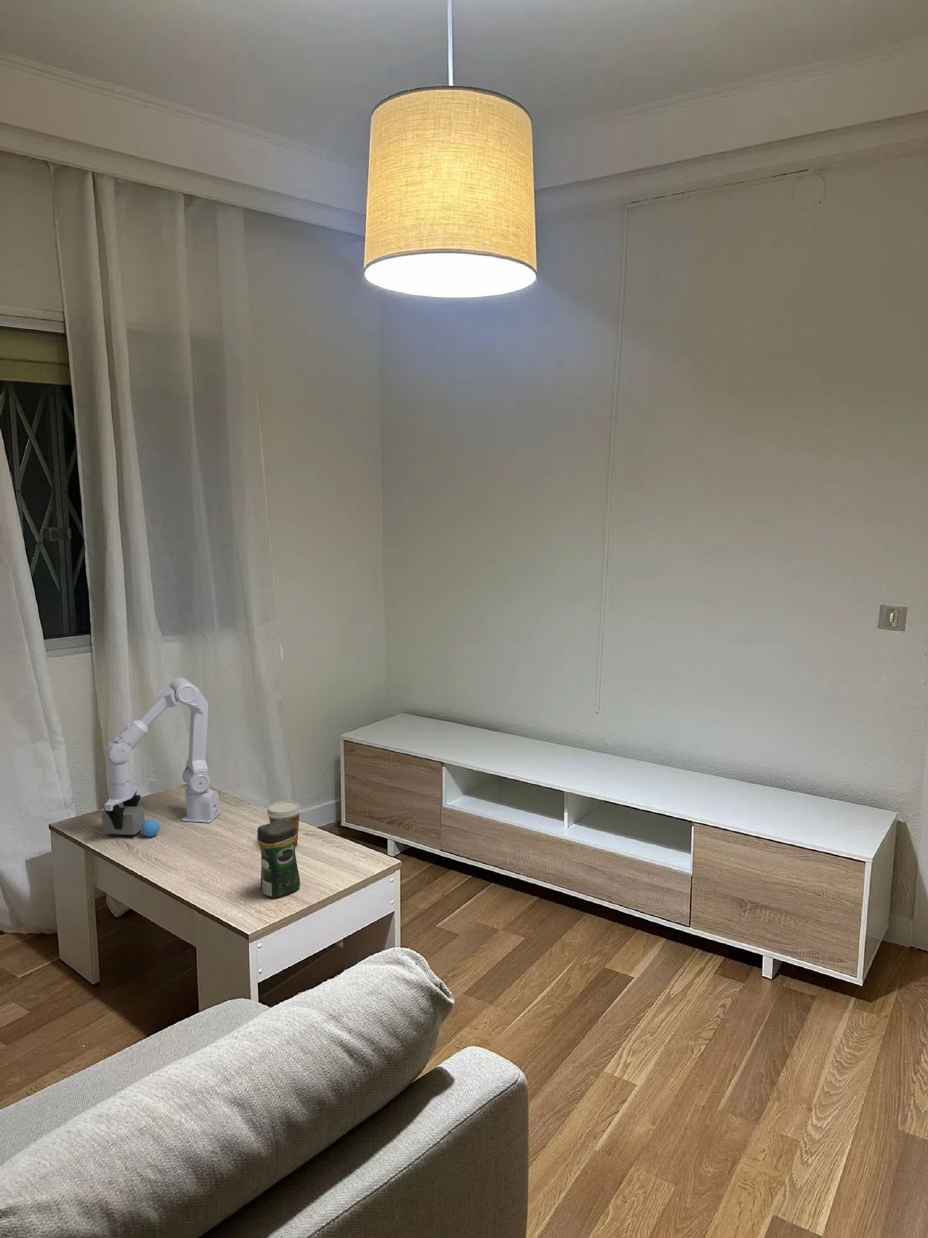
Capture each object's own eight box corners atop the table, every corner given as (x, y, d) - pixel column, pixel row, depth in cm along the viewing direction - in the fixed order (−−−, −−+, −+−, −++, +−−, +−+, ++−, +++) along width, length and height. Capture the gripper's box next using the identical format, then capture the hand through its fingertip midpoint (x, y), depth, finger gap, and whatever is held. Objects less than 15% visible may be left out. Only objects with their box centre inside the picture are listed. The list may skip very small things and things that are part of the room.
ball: (144, 821, 266) (154, 835, 267) (135, 828, 262) (144, 842, 262) (156, 813, 265) (166, 827, 265) (147, 820, 260) (156, 834, 260)
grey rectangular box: (145, 826, 267) (143, 807, 266) (134, 835, 262) (131, 815, 261) (115, 825, 270) (113, 805, 268) (103, 833, 264) (101, 813, 263)
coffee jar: (288, 879, 236) (284, 812, 232) (304, 889, 230) (301, 821, 226) (255, 891, 229) (251, 823, 226) (271, 902, 223) (267, 832, 220)
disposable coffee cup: (299, 853, 251) (296, 813, 248) (265, 853, 251) (262, 813, 249) (305, 838, 260) (303, 799, 258) (273, 839, 260) (270, 800, 258)
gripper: (122, 771, 270) (126, 813, 273) (93, 789, 257) (98, 833, 259) (143, 773, 269) (147, 815, 272) (115, 790, 255) (119, 835, 258)
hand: (124, 824), depth 265 cm, fingers closed on grey rectangular box, 6 cm apart
